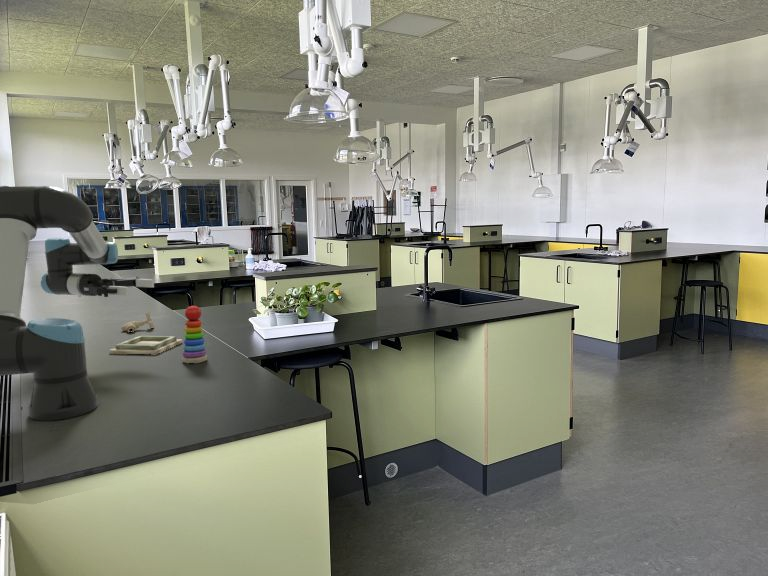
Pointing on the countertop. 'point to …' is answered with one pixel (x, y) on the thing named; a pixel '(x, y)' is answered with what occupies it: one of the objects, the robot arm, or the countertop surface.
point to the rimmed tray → (146, 345)
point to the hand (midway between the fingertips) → (140, 287)
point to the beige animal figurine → (137, 324)
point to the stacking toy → (193, 337)
